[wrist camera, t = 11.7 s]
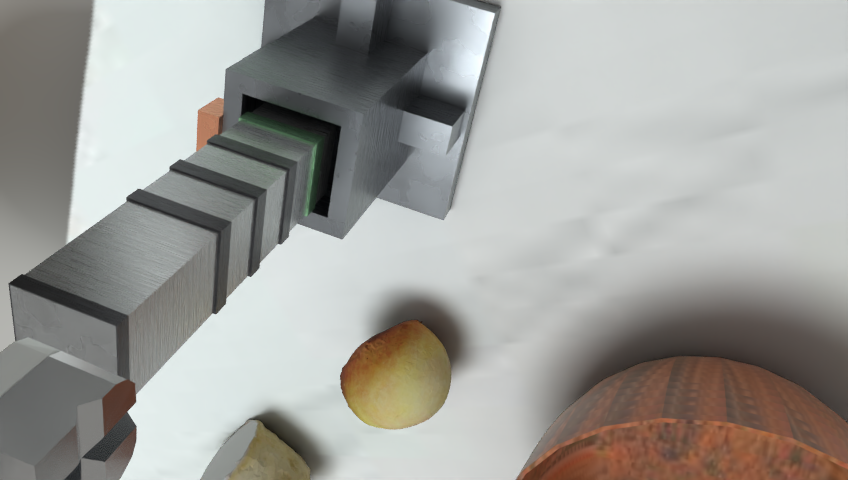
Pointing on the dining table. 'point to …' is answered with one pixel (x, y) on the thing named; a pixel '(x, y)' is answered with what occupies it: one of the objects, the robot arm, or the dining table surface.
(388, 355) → the fruit
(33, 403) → the robot arm
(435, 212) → the stand
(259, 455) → the yellow rounded chunk
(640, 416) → the bowl
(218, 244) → the column
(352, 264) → the dining table surface
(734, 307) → the dining table surface
